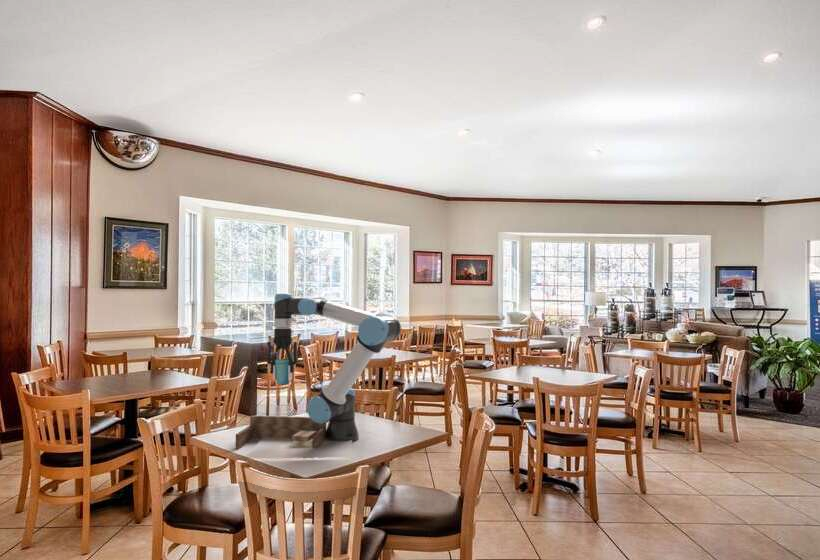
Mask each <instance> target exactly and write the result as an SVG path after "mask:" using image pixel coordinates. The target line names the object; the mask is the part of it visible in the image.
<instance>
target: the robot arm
mask: <svg viewBox="0 0 820 560" xmlns="http://www.w3.org/2000/svg"><path fill="white" fill-rule="evenodd" d="M273 304H274V321H273V322H274V325H273V326H274V329H273V334H274V335H273V336H274V337H273V340H270V341H267V357H266V359H267V361H266V363H267V364H268V365H270V366H271V370H270V372H271V373H273V375H272V380H273V381H277V378H276V365H275V360H277V356H276V353H274V354H271V355H270V353H271V352H273V348H274V347H273V345H275V349H274V351H276V352H277V353H278V355H279V353H280V351H281V350H284V351H285V354H286V353H287V356H288V359H289V363H290V365H289V366H288V380H289V381H291V380H292V379H293V377H292V376H293V375H292V374H293V373H294V372H295V365H297V364H299V353H298V351H299V350H298V345H299V341H295V340H293V338H292V319H293V318H292V316H313V315H318V316H321V317H325V318H329V319H332V320H335V321H338V322H341V323H345V324H347V325H350V326H355V327H358V329H357V330H358V334H356V336H355V340H356V343H355V345H354V347H352V349H351V351H350V352H349V353H348V355H347V357H345V359H344V361H343V362H342V364H341V365H340V367H339V369H338V370H337V372H336V373H335V375H334V376H333V377H332V379H331V380H330V382H329V384H327V385H323V386H322V388H321V389H320V391H318V394H316V395H314V396H313V397H311V398H310V399H309V400H308V401H307V404H306V410H307V414H308V417H310V418H311V419H312V420H313V421H314V422H316V423H318V424H322V423H326V424H327V423H328V424H327V425H326V436H325V440H328V441H333V442H334V441H335V442H345V441H351V442H355V441H357V440H359V432H358V431H359V430H358V428H357V425H356V418H355V417H356V416H355V415H356V404H355V403H356V393H355V389H354V388H353V385H354V383H356V381H357V379H358V378H359V376H360V375H361V374H362V372H363V371H364V369H365V368H366V367H367V364H369V362H370V361H371V359H372V358H373V356H374V355H375V354H380V352H381V351H382V350H383V348H384V346H385V345H386V344H387V343H391V342H394V341H395V340H397V339H398V338H399V337H400V334H401V333H402V326H401V323H400V320H398V318H397V317H396V316H394V315H392V314H384V313H382V312H376V313H374V312H369V311H365V310H361V309H359V308H355V307H352V306H349V305H344V304H341V303H338V302H334V301H331V300H329V299H328V298H324V297H293V295H292V293H276V294H275V295H274V302H273ZM291 345H292V346H293V347H292V350H293V351H292V350H291V347H290V346H291ZM291 352H293V355H294V361H293V358H292V354H291Z"/></svg>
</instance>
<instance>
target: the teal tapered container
mask: <svg viewBox="0 0 820 560" xmlns="http://www.w3.org/2000/svg"><path fill="white" fill-rule="evenodd" d="M274 353H276V356H277V360H275V365H276V378H277V379H276V384H277V385H289V384H290V380H288V366H289V365H290V363H289V359H288V356H287V353H286V352H285V354H284V358H280V355H279V354H278V353H277V352H276V351H275V350H274V351H272V352H271V353H270V355H271V354H272V355H274ZM291 354H292V358H293V361H294V355H293V351H291Z"/></svg>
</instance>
